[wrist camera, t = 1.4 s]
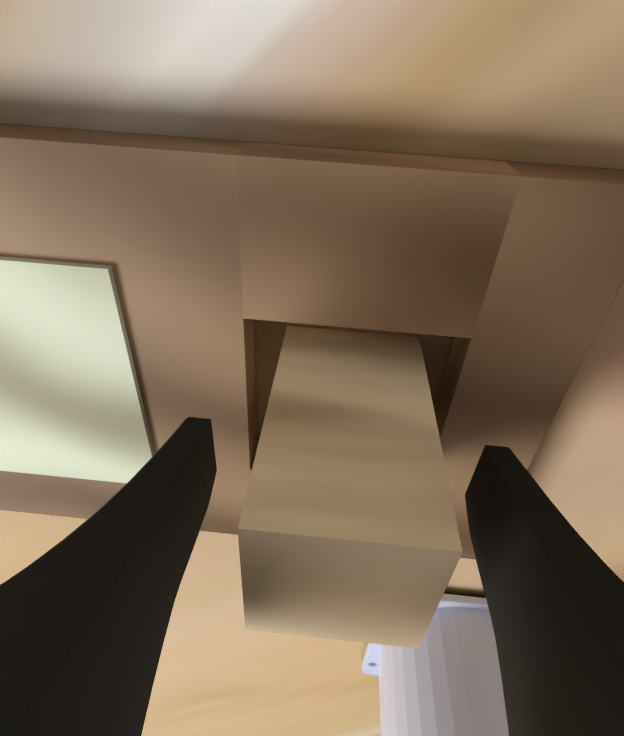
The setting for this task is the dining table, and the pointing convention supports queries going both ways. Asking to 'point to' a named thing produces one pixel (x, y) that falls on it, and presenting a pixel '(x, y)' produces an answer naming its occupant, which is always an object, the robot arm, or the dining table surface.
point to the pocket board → (275, 295)
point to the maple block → (348, 494)
